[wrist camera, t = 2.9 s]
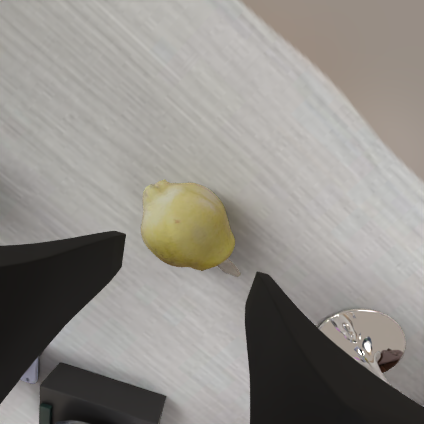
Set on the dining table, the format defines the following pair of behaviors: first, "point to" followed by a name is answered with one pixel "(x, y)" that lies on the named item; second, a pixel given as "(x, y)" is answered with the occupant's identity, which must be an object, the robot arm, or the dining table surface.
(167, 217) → the fruit
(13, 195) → the dining table surface
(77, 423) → the scale pan
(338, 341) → the wineglass
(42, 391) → the scale
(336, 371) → the robot arm
